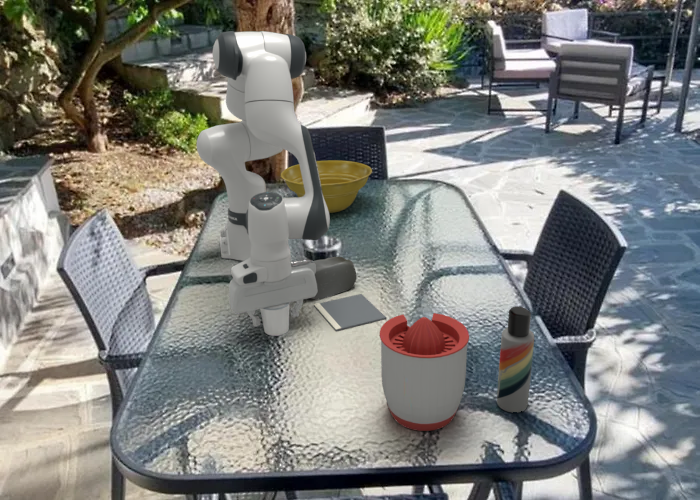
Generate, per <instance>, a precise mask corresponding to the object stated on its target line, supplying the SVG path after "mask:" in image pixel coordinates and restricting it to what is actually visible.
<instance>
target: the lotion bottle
mask: <svg viewBox="0 0 700 500" xmlns="http://www.w3.org/2000/svg"><path fill="white" fill-rule="evenodd" d="M531 317H532V312H531V311H530V310H528V309H527V308H526V307H524V306H520V305H519V306H518V305H517V306H515V305H514V306H513V307H510V308H509V310H508V318H507V319H508V320H507V327H506V328H504V329H503V330H502V332H501V338H500V339H501V341H500V352H499V364H498V365H499V366H498V377H497V378H498V380H497V390H496V391H497V393H496V403H497V405H498V407H499V408H500V409H501V410H503V411H505V412H508V413H513V412H517V413H521V411H522V412H524V411H525V410H526V409H527V408H528V404H529V397H530V389H531V388H530V387H531V386H530V385H531V376H532V367H533V366H532V364H533V356H534V348H535V347H534V344H535V334H534V333H533V331H531V330H530V328H531ZM523 410H524V411H523Z"/></svg>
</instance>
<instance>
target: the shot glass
mask: <svg viewBox="0 0 700 500" xmlns="http://www.w3.org/2000/svg"><path fill="white" fill-rule="evenodd" d="M290 303H291V302H289V303H285V304H280V305H276V306H271V307H267V308H262V309H259V310H260V315H261V319H262V325H263V330H264V332H265V334H267V336H268V335H269V336H271V337H272V336H274V337H275V336H277V337H278V336H282V335H284V334H287V333H288V332H289V329H290Z"/></svg>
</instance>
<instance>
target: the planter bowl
mask: <svg viewBox="0 0 700 500" xmlns="http://www.w3.org/2000/svg"><path fill="white" fill-rule="evenodd" d="M316 163H317V168H318V173H319V178H320V183H321V187H322V192H323V197H324V200H325V202H326V205H327V208H328V211H329V214H330V213H331V214H333V213H338V212H339V213H340V212H342V211H344V210H346V209H348V208H349V207H350V206H351V205H352V204H353V203H354V201H355V200H356V197H357V195H358V193H359V191H361V189H362V188H363V187H365V186H366V185H367V182H368V179H369V176H370V175H371V174H373V169H372V167H370V166H369V165H367V164H364V163H361V162H357V161H351V160H338V159H337V160H336V159H334V160H316ZM280 178H282V179H283V181H285V184H286V186H287V187H288V190H290V191H292V192H294V193H295V194H296V196H297V197H302V196H304V195H305V189H304V184H303V179H302V174H301V169H300V165H299V163H298V164H295V165H292V166H289V167H287V168H285V169H284V170H282V171H281V173H280Z"/></svg>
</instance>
